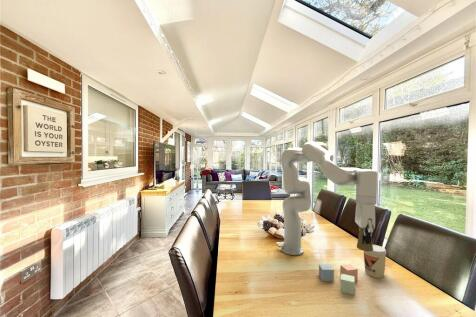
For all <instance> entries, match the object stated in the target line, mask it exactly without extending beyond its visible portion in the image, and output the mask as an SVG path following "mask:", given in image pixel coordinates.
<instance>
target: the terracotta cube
mask: <svg viewBox="0 0 476 317" xmlns="http://www.w3.org/2000/svg"><path fill="white" fill-rule="evenodd" d="M339 267H340V268H339V270H340V271H339V272H340V274H339V275H340V276H339V277H341V274H345V275H350V276H354V282H355V281H358V280H359V278H358V275H359V274H358V272H359V271H358V270H359V269H358V268H357V267H355V266H354V265H352V264H350V263H347V264H340V266H339Z"/></svg>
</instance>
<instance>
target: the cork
mask: <svg viewBox="0 0 476 317" xmlns="http://www.w3.org/2000/svg"><path fill="white" fill-rule="evenodd" d="M357 225H358V224H357ZM366 228H368V227H367V226H366ZM359 229H360V231H359ZM366 231H368V230H366ZM362 235H363V228H361V227H360V226H359V225H358V238H357V242H356V248H357V249H358V250H360V251H363V252H364V251H373V245H374V244H373V237H372V236H371V244H366V243H365V241H364V244H362Z"/></svg>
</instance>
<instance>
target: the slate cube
mask: <svg viewBox="0 0 476 317" xmlns="http://www.w3.org/2000/svg"><path fill="white" fill-rule="evenodd" d="M318 276H319V278H320V279H321V280H322V282H323V281H324V282H326V281H327V282H333V281H335V269H334V268H333V267H332V265H331V264H329V263H327V264H326V263H325V264H324V263H320V264H318Z"/></svg>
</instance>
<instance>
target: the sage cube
mask: <svg viewBox="0 0 476 317" xmlns="http://www.w3.org/2000/svg"><path fill="white" fill-rule="evenodd" d="M340 292H342V293H345V294H351V295H355V281H354V276H350V275H345V274H341V276H340Z"/></svg>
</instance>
